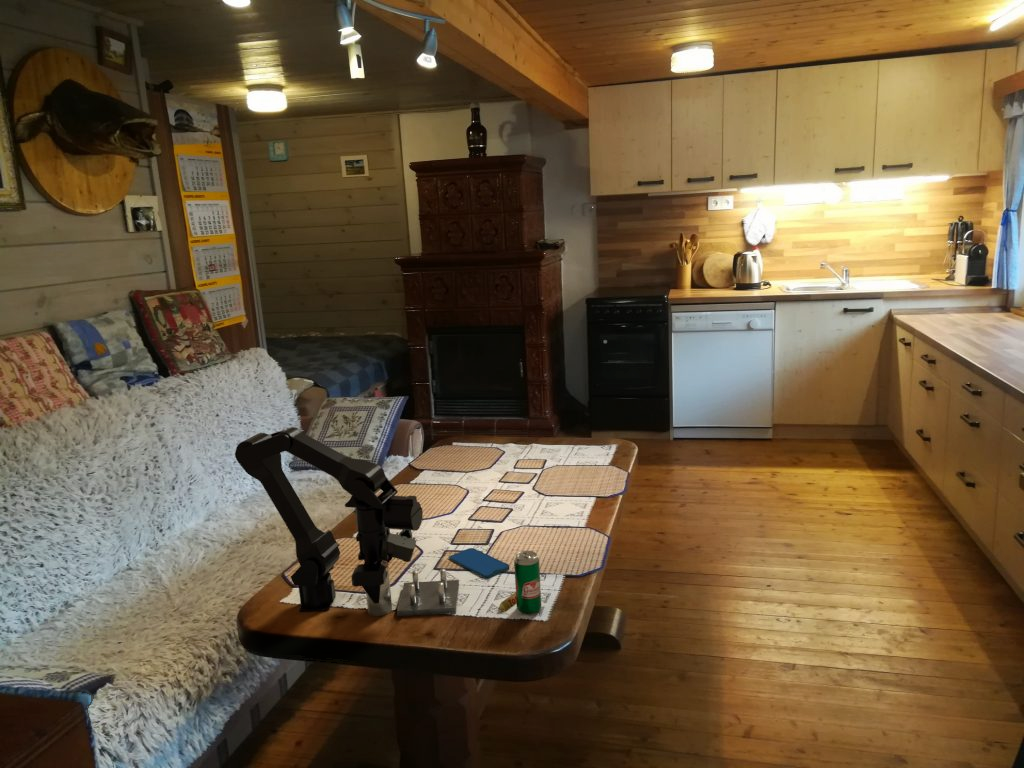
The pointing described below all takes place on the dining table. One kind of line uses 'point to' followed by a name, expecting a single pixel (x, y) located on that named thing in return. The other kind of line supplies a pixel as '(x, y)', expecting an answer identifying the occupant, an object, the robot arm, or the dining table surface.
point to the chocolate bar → (508, 603)
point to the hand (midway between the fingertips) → (378, 596)
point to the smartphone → (479, 563)
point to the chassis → (428, 596)
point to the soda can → (527, 582)
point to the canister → (381, 598)
